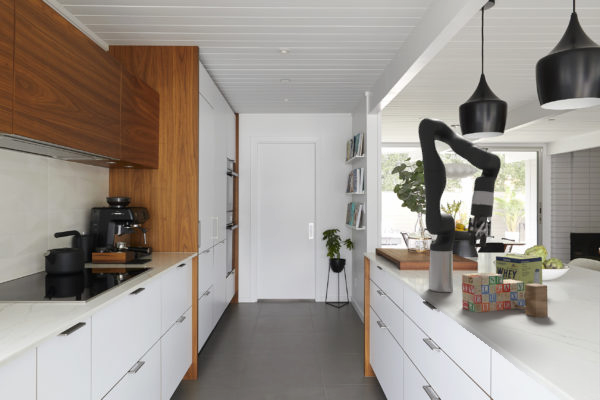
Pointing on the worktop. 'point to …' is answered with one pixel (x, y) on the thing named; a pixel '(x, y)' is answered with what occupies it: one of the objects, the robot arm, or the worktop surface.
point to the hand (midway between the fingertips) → (477, 246)
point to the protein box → (520, 268)
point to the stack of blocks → (491, 292)
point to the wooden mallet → (535, 300)
